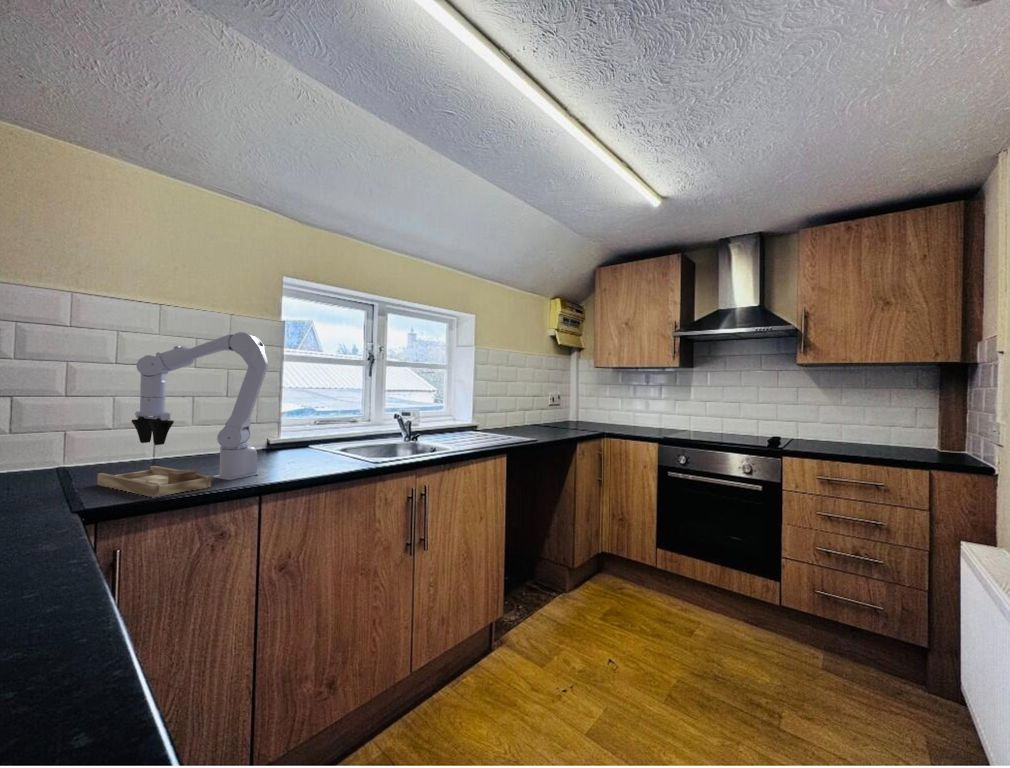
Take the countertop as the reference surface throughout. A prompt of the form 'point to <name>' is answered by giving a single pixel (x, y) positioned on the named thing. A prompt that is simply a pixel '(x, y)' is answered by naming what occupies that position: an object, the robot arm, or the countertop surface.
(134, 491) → the tray
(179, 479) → the block
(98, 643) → the countertop surface
